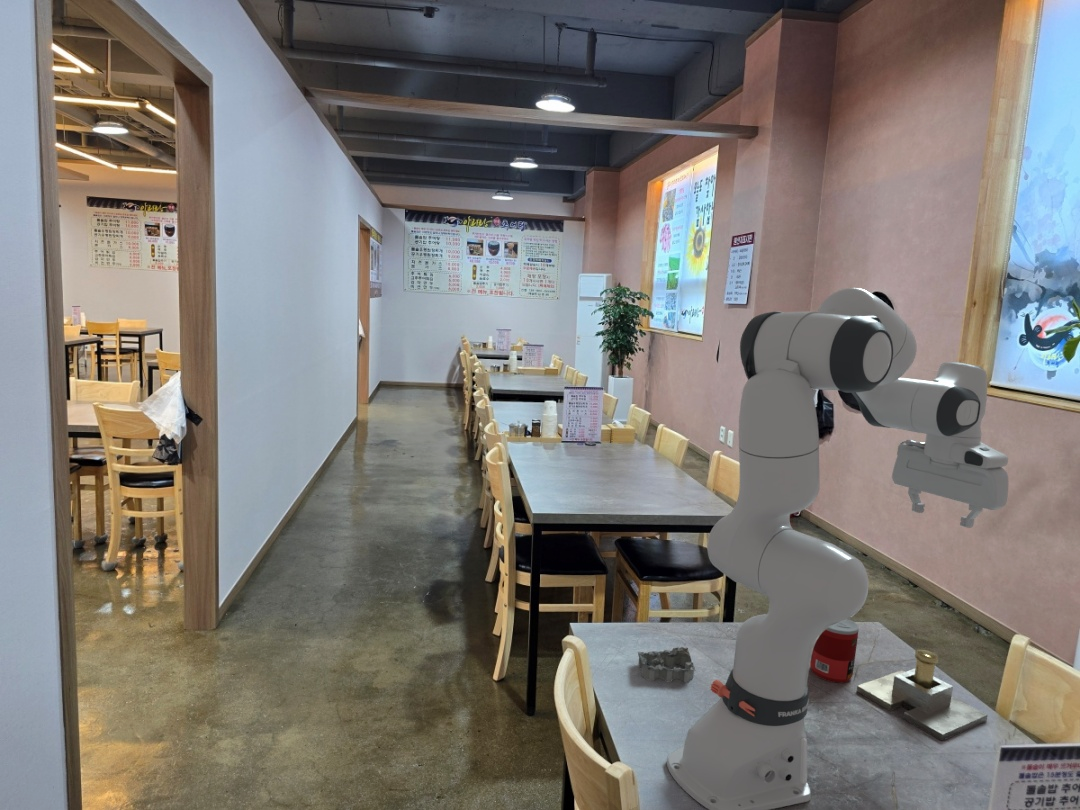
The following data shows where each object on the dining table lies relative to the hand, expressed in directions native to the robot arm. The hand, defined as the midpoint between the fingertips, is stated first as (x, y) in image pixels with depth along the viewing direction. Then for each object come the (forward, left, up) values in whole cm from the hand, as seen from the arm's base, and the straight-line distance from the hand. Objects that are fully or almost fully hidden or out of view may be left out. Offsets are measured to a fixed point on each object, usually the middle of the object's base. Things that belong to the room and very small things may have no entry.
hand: (941, 519), depth 131 cm
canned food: (-13, +10, -34) cm, 38 cm away
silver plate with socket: (-7, -5, -34) cm, 35 cm away
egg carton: (-44, +24, -35) cm, 61 cm away
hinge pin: (-7, -5, -33) cm, 34 cm away
